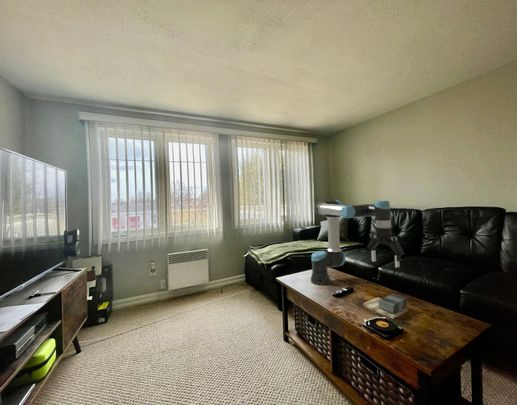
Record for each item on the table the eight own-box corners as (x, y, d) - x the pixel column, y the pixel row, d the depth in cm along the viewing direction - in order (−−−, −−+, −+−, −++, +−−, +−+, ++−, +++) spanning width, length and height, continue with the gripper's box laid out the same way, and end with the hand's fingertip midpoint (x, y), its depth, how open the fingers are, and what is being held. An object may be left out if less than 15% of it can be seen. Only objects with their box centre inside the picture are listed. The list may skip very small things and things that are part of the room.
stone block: (376, 308, 117) (376, 299, 117) (391, 301, 124) (390, 292, 124) (393, 315, 109) (392, 305, 109) (407, 307, 116) (406, 297, 116)
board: (363, 305, 124) (363, 303, 124) (378, 299, 130) (377, 297, 130) (392, 318, 108) (392, 315, 109) (407, 311, 115) (407, 308, 115)
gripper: (359, 226, 129) (361, 260, 129) (402, 230, 107) (404, 271, 107) (367, 225, 132) (369, 258, 132) (410, 228, 110) (412, 268, 110)
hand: (385, 264), depth 119 cm, fingers open, 13 cm apart
